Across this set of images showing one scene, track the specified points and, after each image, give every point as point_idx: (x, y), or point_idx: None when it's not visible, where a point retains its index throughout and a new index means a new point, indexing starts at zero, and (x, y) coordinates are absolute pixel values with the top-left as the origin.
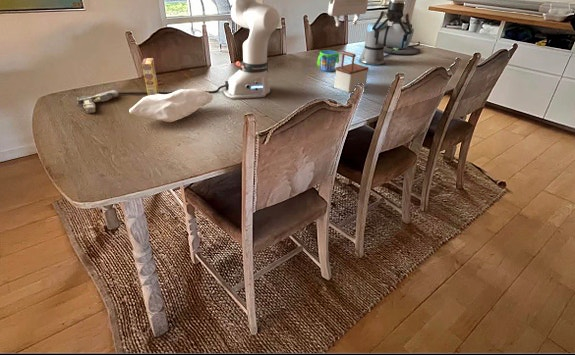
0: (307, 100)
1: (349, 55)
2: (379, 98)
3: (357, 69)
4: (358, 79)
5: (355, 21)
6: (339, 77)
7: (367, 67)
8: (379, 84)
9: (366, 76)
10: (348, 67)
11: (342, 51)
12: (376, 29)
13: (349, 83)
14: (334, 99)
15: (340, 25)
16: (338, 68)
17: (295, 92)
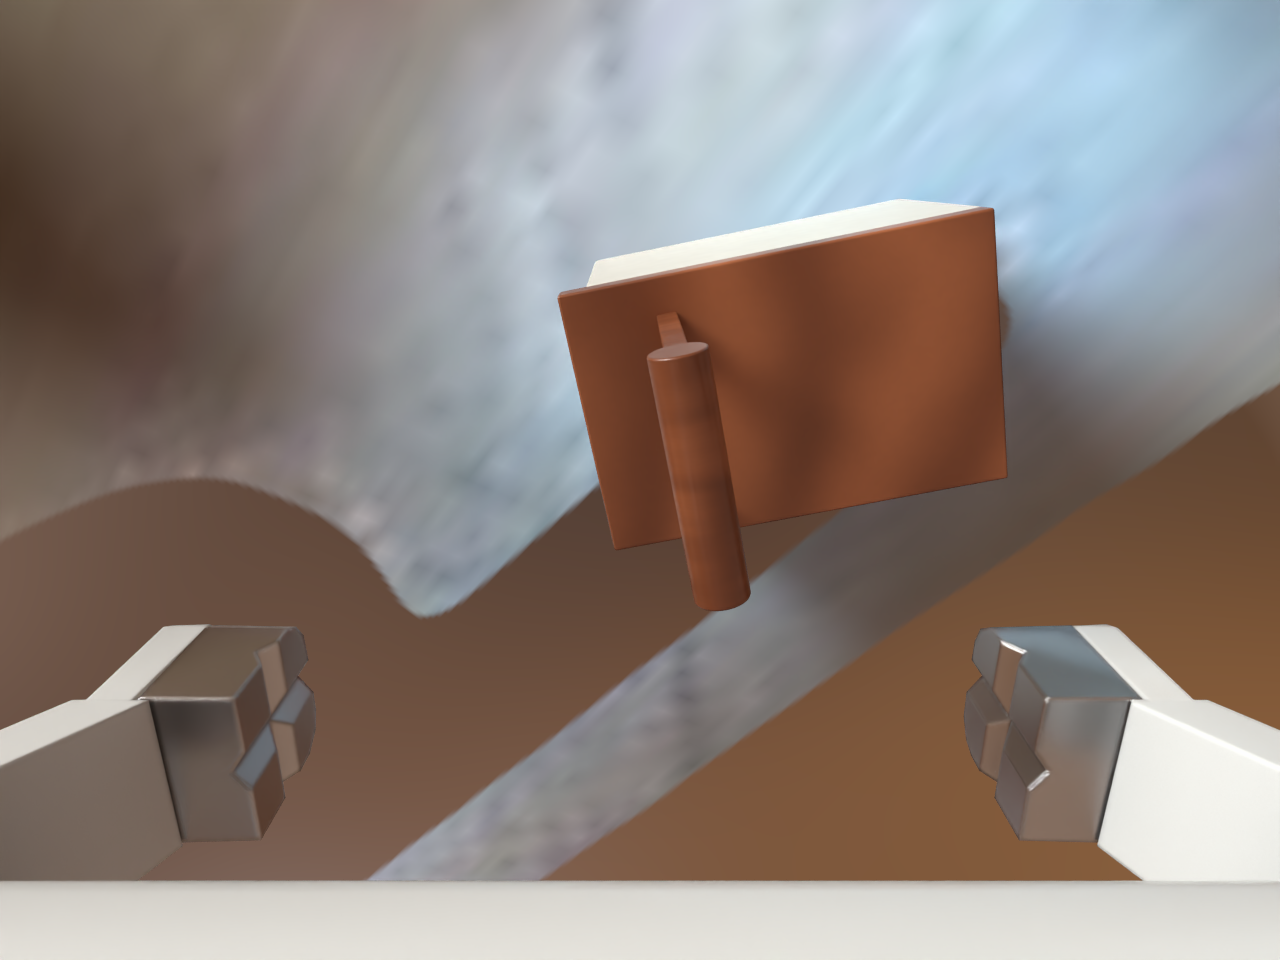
0: (126, 467)
1: (679, 522)
2: (794, 689)
3: (799, 492)
4: None
5: (1069, 820)
6: None
7: (994, 475)
8: (1125, 401)
9: None
10: (751, 367)
11: (659, 362)
12: None
13: None
14: (392, 549)
15: (309, 752)
16: (584, 348)
17: (87, 214)
